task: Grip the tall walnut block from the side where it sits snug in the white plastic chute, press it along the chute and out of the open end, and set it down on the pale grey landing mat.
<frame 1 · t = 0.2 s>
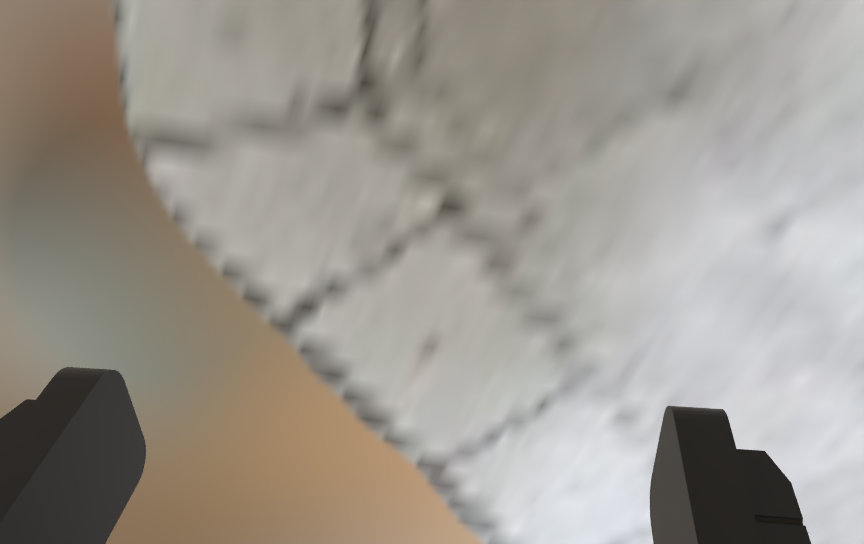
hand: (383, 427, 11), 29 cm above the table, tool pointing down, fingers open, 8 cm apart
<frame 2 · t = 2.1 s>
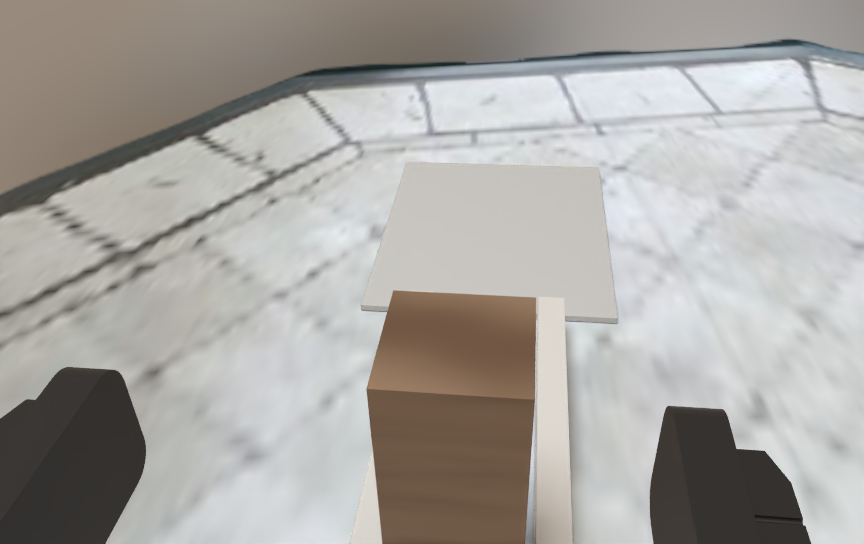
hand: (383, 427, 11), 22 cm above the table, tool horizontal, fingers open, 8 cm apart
chute: (470, 480, 38), on the table
landing mat: (495, 232, 56), on the table
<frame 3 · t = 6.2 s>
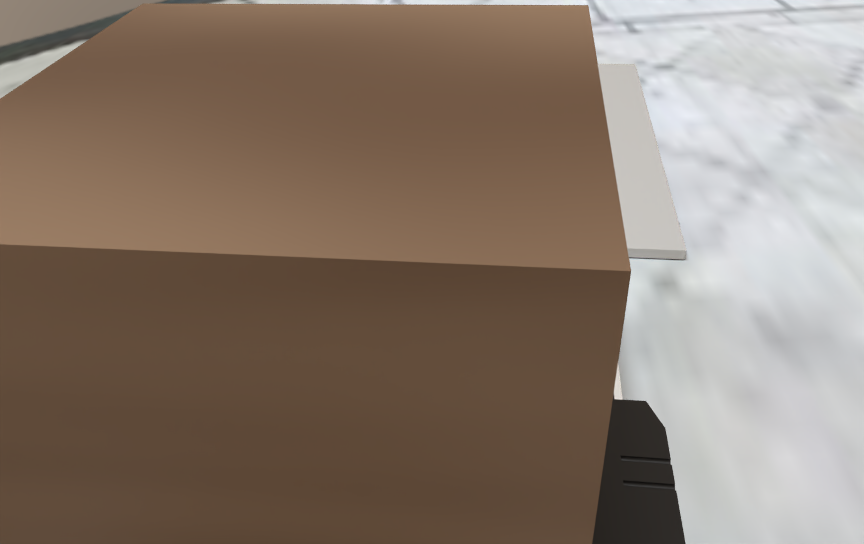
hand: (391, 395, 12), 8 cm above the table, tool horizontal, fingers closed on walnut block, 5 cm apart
landing mat: (487, 140, 38), on the table
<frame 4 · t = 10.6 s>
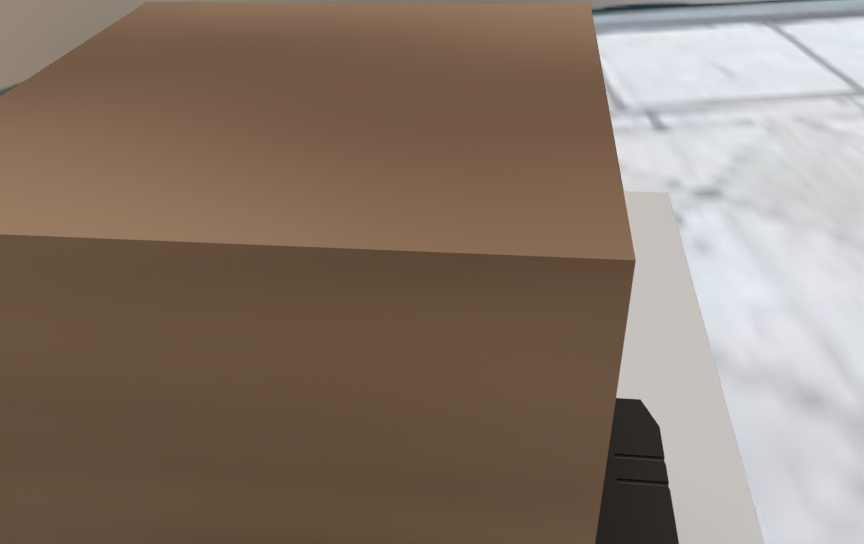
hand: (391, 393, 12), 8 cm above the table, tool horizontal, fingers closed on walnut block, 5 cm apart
landing mat: (457, 342, 25), on the table
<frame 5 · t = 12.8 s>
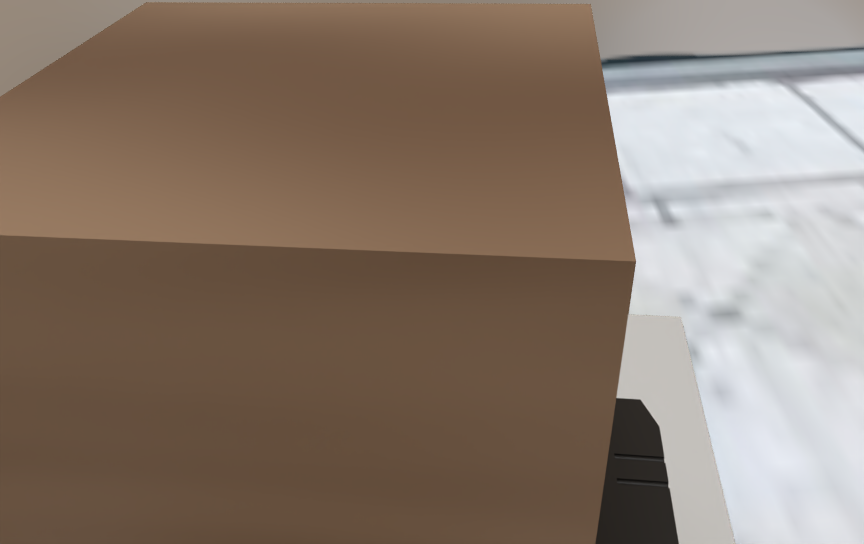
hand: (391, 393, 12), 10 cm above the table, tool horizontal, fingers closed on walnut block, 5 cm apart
landing mat: (435, 536, 21), on the table
when the fingers open (9 cm above the table, at t = 14.6 s): walnut block stays where it is, resting on landing mat.
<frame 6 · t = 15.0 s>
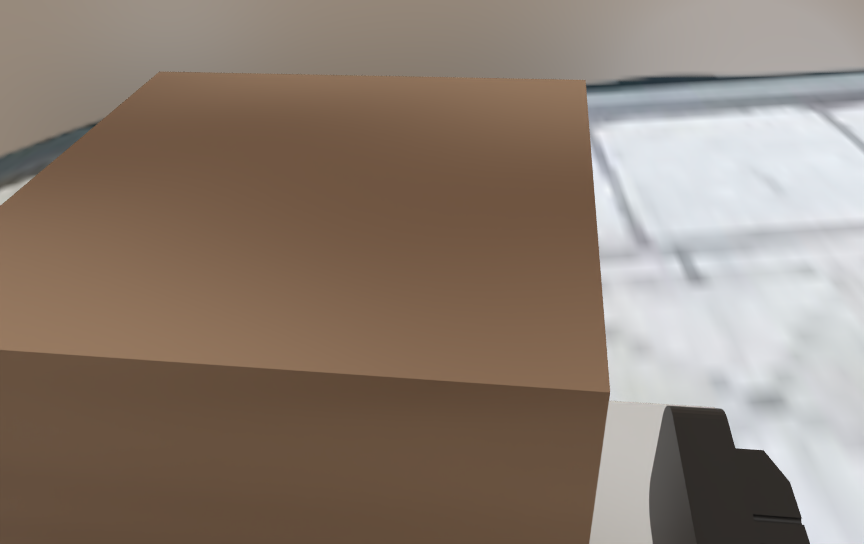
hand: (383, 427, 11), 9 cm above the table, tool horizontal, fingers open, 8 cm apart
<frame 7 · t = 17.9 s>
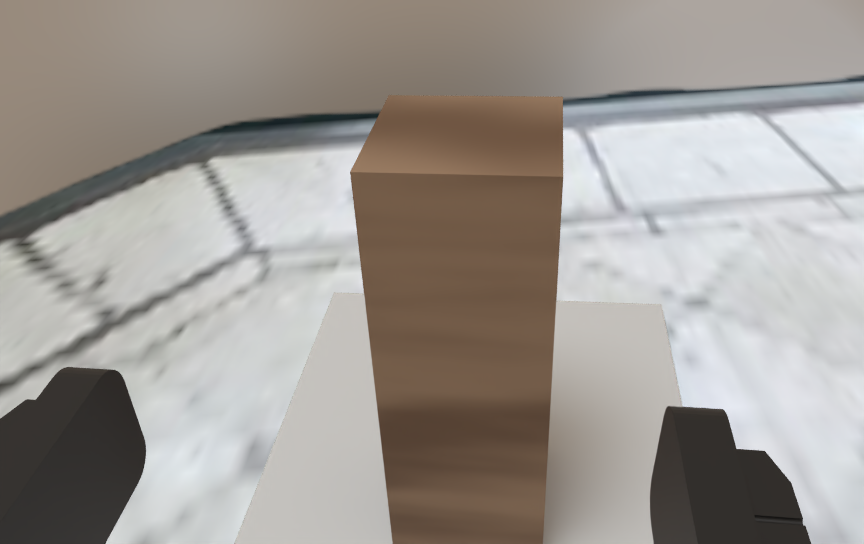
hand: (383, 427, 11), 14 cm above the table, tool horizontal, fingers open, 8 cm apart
landing mat: (478, 457, 30), on the table
walnut block: (473, 493, 28), resting on landing mat
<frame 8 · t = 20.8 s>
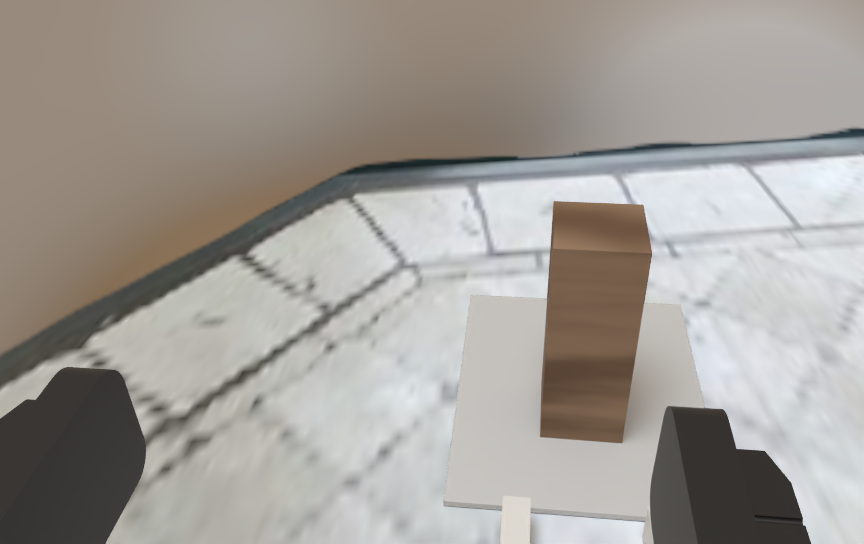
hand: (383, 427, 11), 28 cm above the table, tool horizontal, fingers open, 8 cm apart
landing mat: (578, 393, 52), on the table
walnut block: (579, 411, 50), resting on landing mat
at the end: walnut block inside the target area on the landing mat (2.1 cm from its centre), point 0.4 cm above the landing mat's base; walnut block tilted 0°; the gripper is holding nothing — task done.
